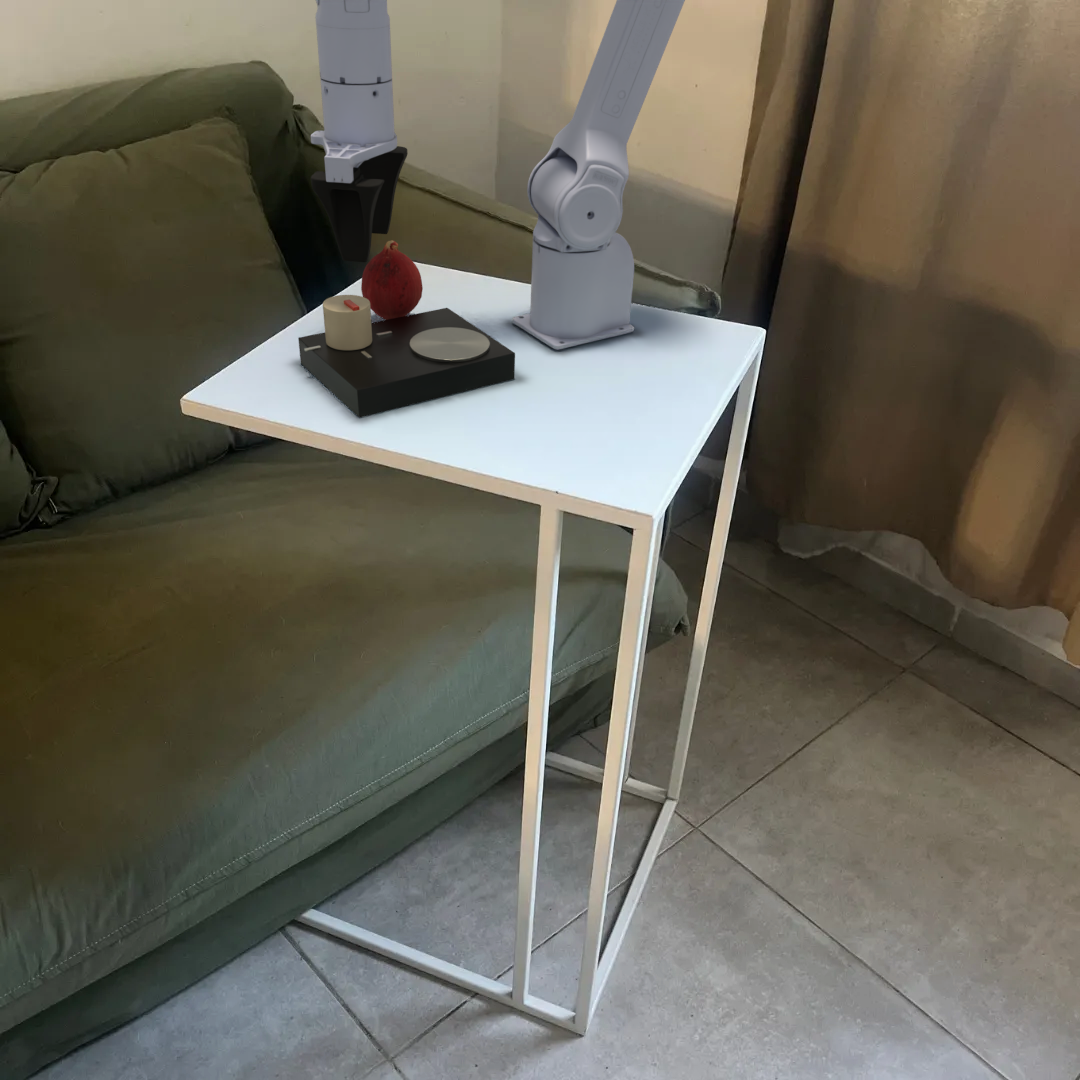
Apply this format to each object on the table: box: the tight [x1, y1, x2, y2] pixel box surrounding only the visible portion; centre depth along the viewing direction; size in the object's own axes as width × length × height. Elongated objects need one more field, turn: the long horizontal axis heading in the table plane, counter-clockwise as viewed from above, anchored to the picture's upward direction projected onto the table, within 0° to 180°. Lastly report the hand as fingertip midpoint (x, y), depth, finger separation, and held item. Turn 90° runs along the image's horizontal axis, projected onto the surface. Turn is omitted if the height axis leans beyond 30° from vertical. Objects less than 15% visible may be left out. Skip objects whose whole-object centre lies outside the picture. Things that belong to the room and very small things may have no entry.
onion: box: [360, 239, 424, 320], centre depth 97 cm, size 6×6×8 cm
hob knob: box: [322, 294, 372, 350], centre depth 87 cm, size 4×4×4 cm
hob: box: [297, 307, 516, 418], centre depth 89 cm, size 16×13×3 cm
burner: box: [410, 327, 490, 363], centre depth 89 cm, size 7×7×1 cm
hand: (366, 246), depth 89 cm, fingers open, 7 cm apart
